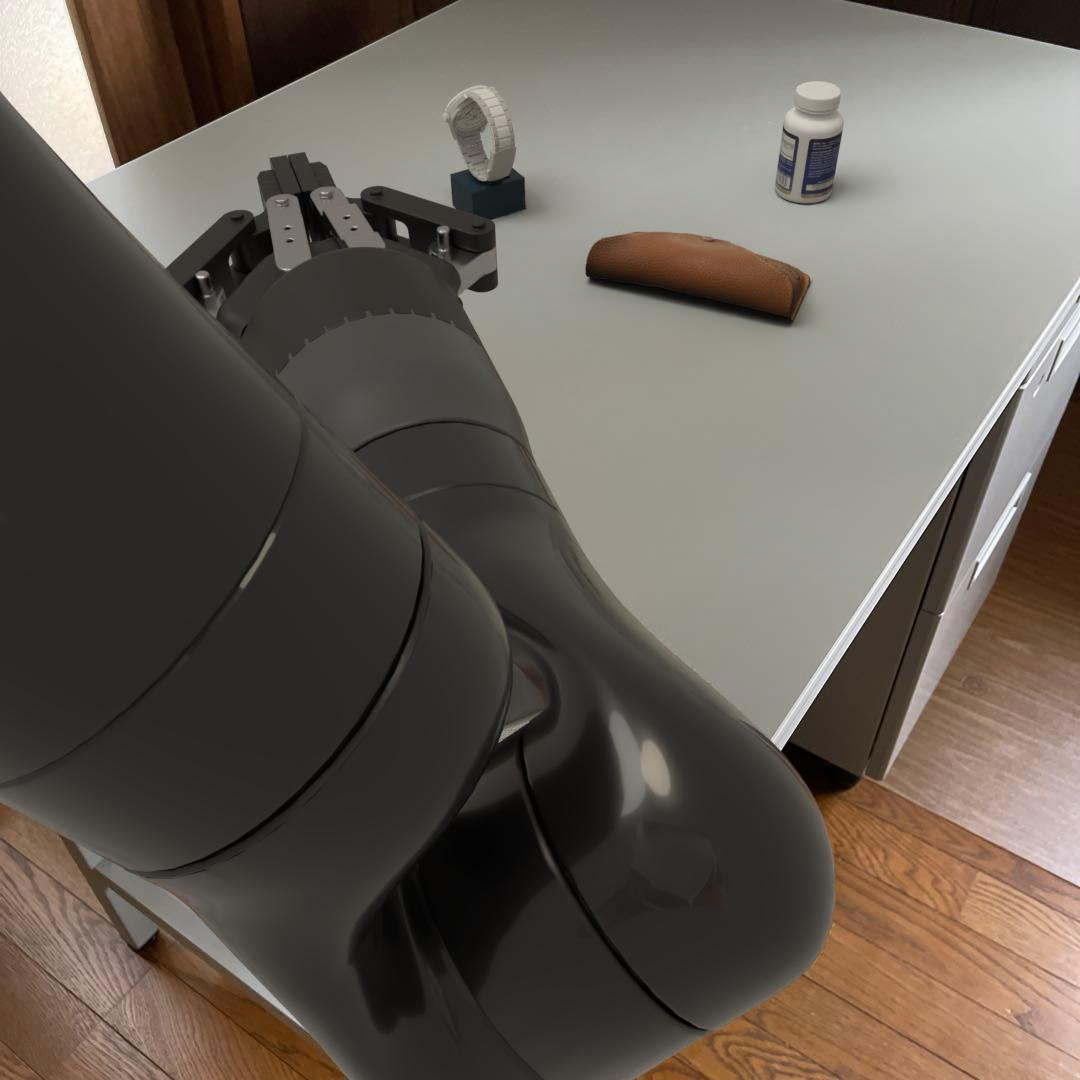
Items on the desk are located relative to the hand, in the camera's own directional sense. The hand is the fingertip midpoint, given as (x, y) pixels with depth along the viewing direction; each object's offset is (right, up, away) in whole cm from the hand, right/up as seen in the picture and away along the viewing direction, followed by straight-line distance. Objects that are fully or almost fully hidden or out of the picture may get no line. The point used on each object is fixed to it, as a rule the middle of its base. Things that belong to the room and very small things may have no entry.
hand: (289, 176), depth 46 cm
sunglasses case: (+24, +7, +49) cm, 55 cm away
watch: (+5, +16, +59) cm, 62 cm away
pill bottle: (+35, +18, +60) cm, 72 cm away
